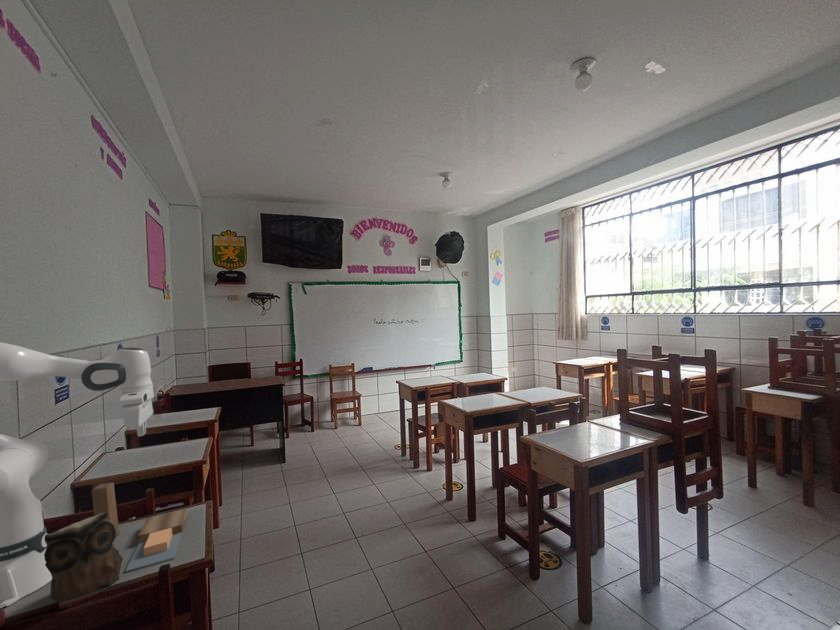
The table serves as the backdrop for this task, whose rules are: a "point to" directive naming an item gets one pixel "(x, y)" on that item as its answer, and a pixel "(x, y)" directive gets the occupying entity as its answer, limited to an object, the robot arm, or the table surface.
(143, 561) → the mat
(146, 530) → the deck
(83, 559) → the owl
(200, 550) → the table surface
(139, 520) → the table surface
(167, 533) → the tile
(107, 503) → the wooden block
